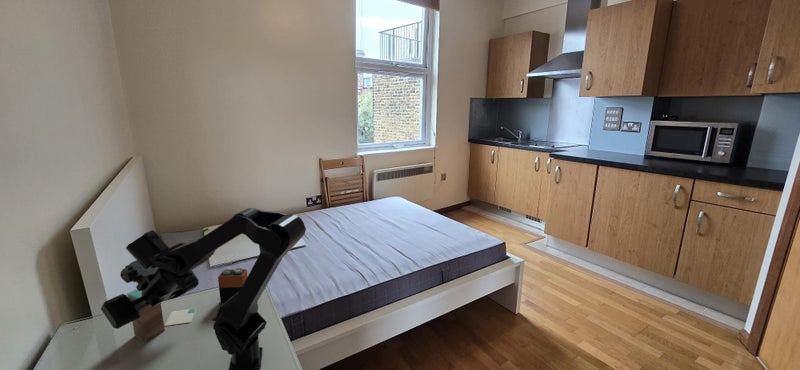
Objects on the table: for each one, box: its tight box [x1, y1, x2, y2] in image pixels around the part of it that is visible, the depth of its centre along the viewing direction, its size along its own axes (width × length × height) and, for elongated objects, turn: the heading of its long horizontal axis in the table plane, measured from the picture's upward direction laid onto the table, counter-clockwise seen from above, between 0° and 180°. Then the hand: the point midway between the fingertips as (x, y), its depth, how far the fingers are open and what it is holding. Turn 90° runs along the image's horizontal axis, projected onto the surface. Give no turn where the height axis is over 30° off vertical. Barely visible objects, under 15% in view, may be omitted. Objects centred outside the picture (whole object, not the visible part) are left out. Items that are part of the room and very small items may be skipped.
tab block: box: [126, 288, 166, 342], centre depth 81 cm, size 4×4×12 cm
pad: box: [164, 308, 198, 327], centre depth 88 cm, size 6×6×1 cm
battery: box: [217, 267, 248, 305], centre depth 96 cm, size 4×7×10 cm, turn 98°
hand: (142, 308), depth 81 cm, fingers open, 7 cm apart
